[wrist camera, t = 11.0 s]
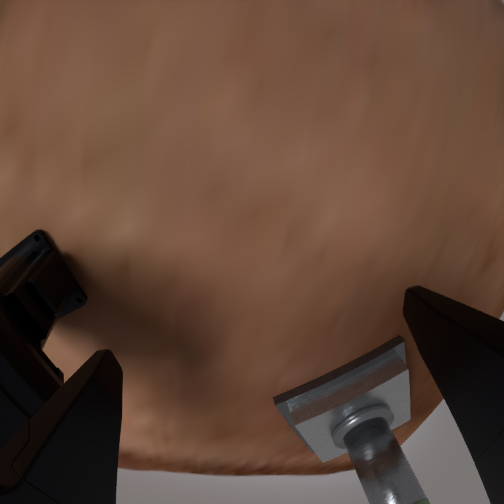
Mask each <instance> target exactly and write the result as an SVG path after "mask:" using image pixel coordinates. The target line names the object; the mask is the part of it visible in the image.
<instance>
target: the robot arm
mask: <svg viewBox="0 0 504 504" xmlns="http://www.w3.org/2000/svg"><path fill="white" fill-rule="evenodd" d="M36 235H38V236H39V238H40V240H39V239H37V237H36ZM78 297H81V298H82V300H80V299H79V298H78ZM86 301H87V296H86V294H85V293H84V291H83V290H82V289H81V287H80V286H79V285H78V283H77V282H76V280H75V278H74V276H73V275H72V274H71V272H70V271H69V269H68V268H67V266H66V265H65V263H64V262H63V260H62V259H61V258H60V256H59V255H58V253H57V252H56V251H55V250H54V248H53V247H52V245H51V244H50V242H49V241H48V239H47V237H46V236H45V234H44V233H43V232H42V231H41V230H35V231H34V232H33V233H31V234H30V235H29V236H27V237H26V238H25V239H23V240H22V241H21V242H20V243H18V244H17V245H16V246H15V247H13V248H12V249H11V250H10V251H8V252H7V253H6V254H5V255H3V256H2V257H1V258H0V504H116V485H117V468H118V454H119V442H120V432H121V422H122V387H123V371H122V368H121V366H120V364H119V363H118V361H117V359H116V358H115V356H114V355H113V353H112V351H111V350H109V349H104V350H98V351H96V352H95V353H94V354H93V355H92V356H91V357H90V358H89V359H88V360H87V361H86V362H85V363H84V364H83V365H82V366H81V367H80V368H79V369H78V370H77V371H76V372H75V373H74V374H73V375H72V376H71V377H70V378H69V379H68V380H67V381H66V382H65V383H64V374H63V372H62V371H61V370H60V369H59V368H56V366H55V365H54V364H53V363H52V362H51V360H50V359H49V358H48V357H47V355H46V354H45V353H44V352H43V347H44V345H45V343H46V341H47V339H48V337H49V335H50V333H51V331H52V329H53V327H54V325H55V323H56V321H57V319H58V318H60V317H62V316H64V315H66V314H68V313H70V312H72V311H74V310H75V309H77V308H79V307H81V306H83V305H84V304H85V303H86ZM403 315H404V318H405V320H406V323H407V325H408V327H409V329H410V331H411V334H412V336H413V338H414V341H415V343H416V345H417V348H418V350H419V352H420V354H421V357H422V358H423V360H424V362H425V364H426V366H427V368H428V369H429V371H430V373H431V375H432V377H433V379H434V380H435V382H436V384H437V386H438V388H439V390H440V392H441V394H442V396H443V398H444V400H445V401H446V403H447V405H448V407H449V409H450V411H451V413H452V415H453V417H454V419H455V421H456V423H457V426H458V427H459V430H460V432H461V434H462V436H463V438H464V441H465V443H466V445H467V447H468V449H469V451H470V453H471V456H472V458H473V461H474V462H475V466H476V468H477V470H478V473H479V475H480V478H481V480H482V482H483V485H484V487H485V490H486V493H487V495H488V498H489V500H490V503H491V504H504V321H502V320H500V319H497V318H495V317H493V316H490V315H488V314H486V313H483V312H481V311H479V310H476V309H474V308H472V307H469V306H467V305H465V304H462V303H460V302H458V301H455V300H453V299H450V298H448V297H446V296H443V295H441V294H438V293H436V292H434V291H431V290H429V289H426V288H424V287H421V286H418V285H417V286H413V287H410V288H407V289H406V291H405V297H404V305H403Z"/></svg>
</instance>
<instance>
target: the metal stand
mask: <svg viewBox="0 0 504 504" xmlns="http://www.w3.org/2000/svg"><path fill="white" fill-rule="evenodd" d="M273 399H274V403H275V406H276V407H277V408H278V410H279V411H280V412H281V414H282V415H283V416H284V418H285V419H286V420H287V422H288V423H289V424H290V425H291V427H292V428H293V429H294V431H295V432H296V433H297V435H298V436H299V437H300V438H301V440H302V441H303V442H304V443H305V445H306V446H307V447H308V449H309V450H310V451H311V452H312V453H313V452H315V453H316V455H317V456H318V457H319V458H320V460H321V461H322V462H323V463H324V462H326V461H329V460H331V459H333V458H336V457H338V456H340V455H343V454H345V453H347V452H348V451H347V449H341V448H338V447H336V446H335V445H334V442H333V440H332V437H331V433H332V431H333V429H334V428H335V426H336V425H337V424H338V423H339V422H340V421H342V420H343V419H344V418H346V417H347V416H349V415H350V414H352V413H354V412H356V411H358V410H360V409H362V408H365V407H368V406H371V405H376V404H385V405H388V406H389V407H390V409H391V411H392V412H393V414H394V421H393V423H392V424H391V425H390V428H391V430H393V429H395V428H397V427H398V426H400V425H402V424H404V423H405V422H407V421H409V420H410V385H409V369H408V367H407V366H406V354H405V344H404V341H403V339H402V338H401V337H400V336H398V337H396V338H394V339H393V340H391V341H389V342H387V343H385V344H384V345H382V346H380V347H378V348H377V349H375V350H373V351H371V352H369V353H367V354H365V355H364V356H362V357H360V358H358V359H356V360H354V361H352V362H350V363H348V364H346V365H344V366H342V367H340V368H338V369H336V370H334V371H332V372H330V373H328V374H326V375H324V376H321V377H319V378H317V379H315V380H313V381H311V382H308V383H306V384H304V385H302V386H299V387H297V388H295V389H293V390H290V391H288V392H286V393H283V394H281V395H278V396H276V397H273Z"/></svg>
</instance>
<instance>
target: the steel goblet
mask: <svg viewBox="0 0 504 504" xmlns="http://www.w3.org/2000/svg"><path fill="white" fill-rule="evenodd" d="M393 421H394V414H393V412H392V411H391V409H390V407H389V406H388V405H385V404H376V405H371V406H368V407H365V408H362V409H360V410H358V411H356V412H354V413H352V414H350V415H349V416H347V417H346V418H344V419H343V420H342V421H340V422H339V423H338V424H337V425H336V426H335V428H334V429H333V431H332V433H331V437H332V440H333V442H334V445H335V446H336V447H338V448H341V449H347V451H348V453H349V456H350V458H351V461H352V463H353V465H354V468H355V470H356V473H357V475H358V477H359V480H360V482H361V485H362V487H363V489H364V492H365V494H366V497H367V499H368V502H369V504H430V502H429V500H428V498H427V497H426V495H425V494H424V491H423V490H422V488H421V486H420V484H419V482H418V480H417V478H416V476H415V474H414V472H413V470H412V468H411V466H410V464H409V462H408V460H407V459H406V457H405V455H404V453H403V451H402V449H401V447H400V445H399V443H398V441H397V440H396V438H395V436H394V434H393V432H392V430H391V428H390V425H391V424H392V423H393Z"/></svg>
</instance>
